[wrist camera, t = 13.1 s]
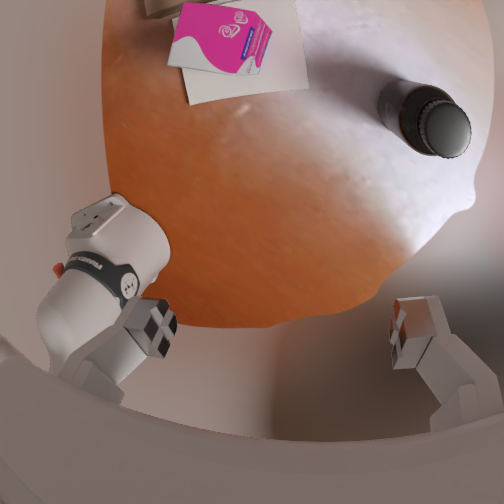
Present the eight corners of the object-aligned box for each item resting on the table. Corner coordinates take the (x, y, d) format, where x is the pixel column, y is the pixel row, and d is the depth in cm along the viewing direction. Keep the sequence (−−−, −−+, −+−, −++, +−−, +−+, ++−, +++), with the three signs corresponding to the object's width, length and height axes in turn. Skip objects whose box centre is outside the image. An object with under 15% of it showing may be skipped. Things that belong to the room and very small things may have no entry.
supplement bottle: (416, 143, 27) (460, 185, 17) (368, 120, 27) (397, 149, 17) (436, 96, 22) (491, 118, 13) (387, 69, 22) (428, 73, 13)
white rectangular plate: (192, 104, 29) (189, 105, 29) (174, 19, 22) (171, 18, 22) (309, 88, 26) (309, 89, 25) (293, -6, 19) (293, -7, 18)
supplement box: (260, 75, 25) (233, 80, 17) (210, 63, 25) (161, 66, 16) (275, 30, 22) (256, 10, 13) (223, 19, 22) (178, 0, 13)
